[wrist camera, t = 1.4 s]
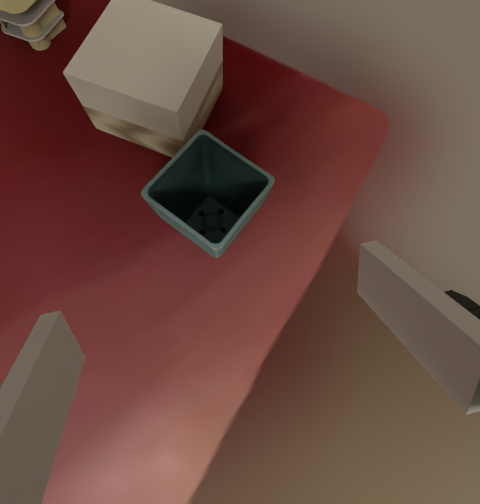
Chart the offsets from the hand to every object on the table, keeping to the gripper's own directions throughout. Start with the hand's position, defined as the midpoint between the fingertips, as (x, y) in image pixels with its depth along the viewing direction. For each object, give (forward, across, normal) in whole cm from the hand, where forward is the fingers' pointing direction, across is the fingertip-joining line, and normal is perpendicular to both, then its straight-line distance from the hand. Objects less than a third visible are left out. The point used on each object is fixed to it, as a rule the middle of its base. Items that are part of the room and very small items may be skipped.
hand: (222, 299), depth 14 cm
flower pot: (+23, +1, -6) cm, 24 cm away
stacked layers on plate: (+45, -16, +16) cm, 50 cm away
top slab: (+31, -2, +9) cm, 32 cm away
